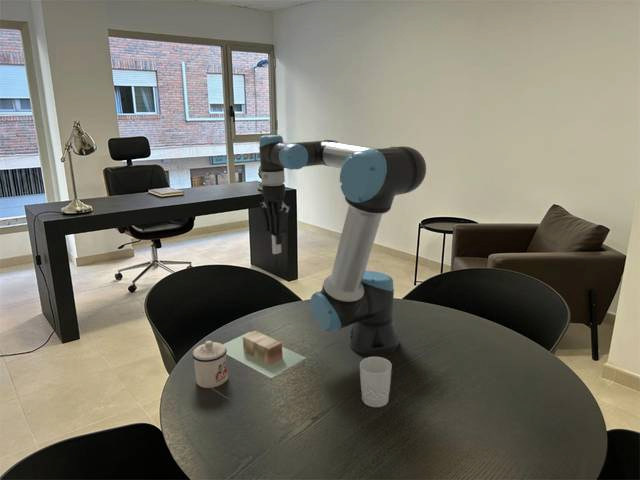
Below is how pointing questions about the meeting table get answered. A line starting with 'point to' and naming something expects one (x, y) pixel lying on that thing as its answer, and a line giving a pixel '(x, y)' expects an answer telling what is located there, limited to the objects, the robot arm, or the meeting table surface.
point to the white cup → (375, 381)
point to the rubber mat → (272, 370)
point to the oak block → (262, 347)
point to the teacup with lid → (210, 364)
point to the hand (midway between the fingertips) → (277, 252)
